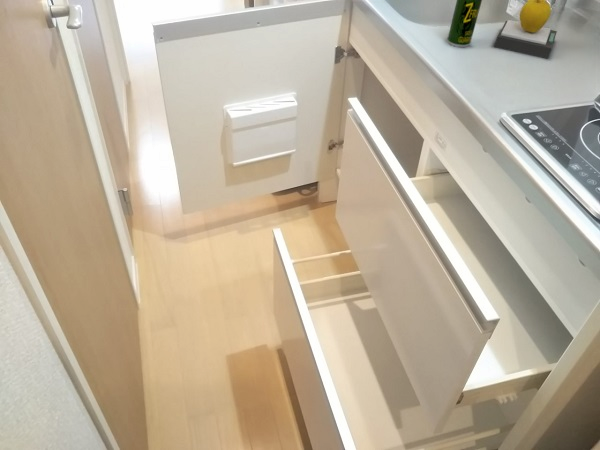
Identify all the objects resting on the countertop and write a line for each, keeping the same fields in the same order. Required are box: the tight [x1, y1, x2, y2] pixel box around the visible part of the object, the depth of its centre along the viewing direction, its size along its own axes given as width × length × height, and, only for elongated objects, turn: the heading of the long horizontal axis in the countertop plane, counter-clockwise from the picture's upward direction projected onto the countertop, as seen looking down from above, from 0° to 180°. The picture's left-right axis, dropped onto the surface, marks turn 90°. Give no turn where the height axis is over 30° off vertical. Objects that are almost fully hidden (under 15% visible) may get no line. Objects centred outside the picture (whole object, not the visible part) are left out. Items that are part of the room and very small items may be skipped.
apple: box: [519, 0, 552, 33], centre depth 119 cm, size 6×6×8 cm
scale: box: [494, 19, 558, 59], centre depth 122 cm, size 12×11×3 cm
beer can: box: [447, 0, 483, 48], centre depth 118 cm, size 5×5×12 cm
